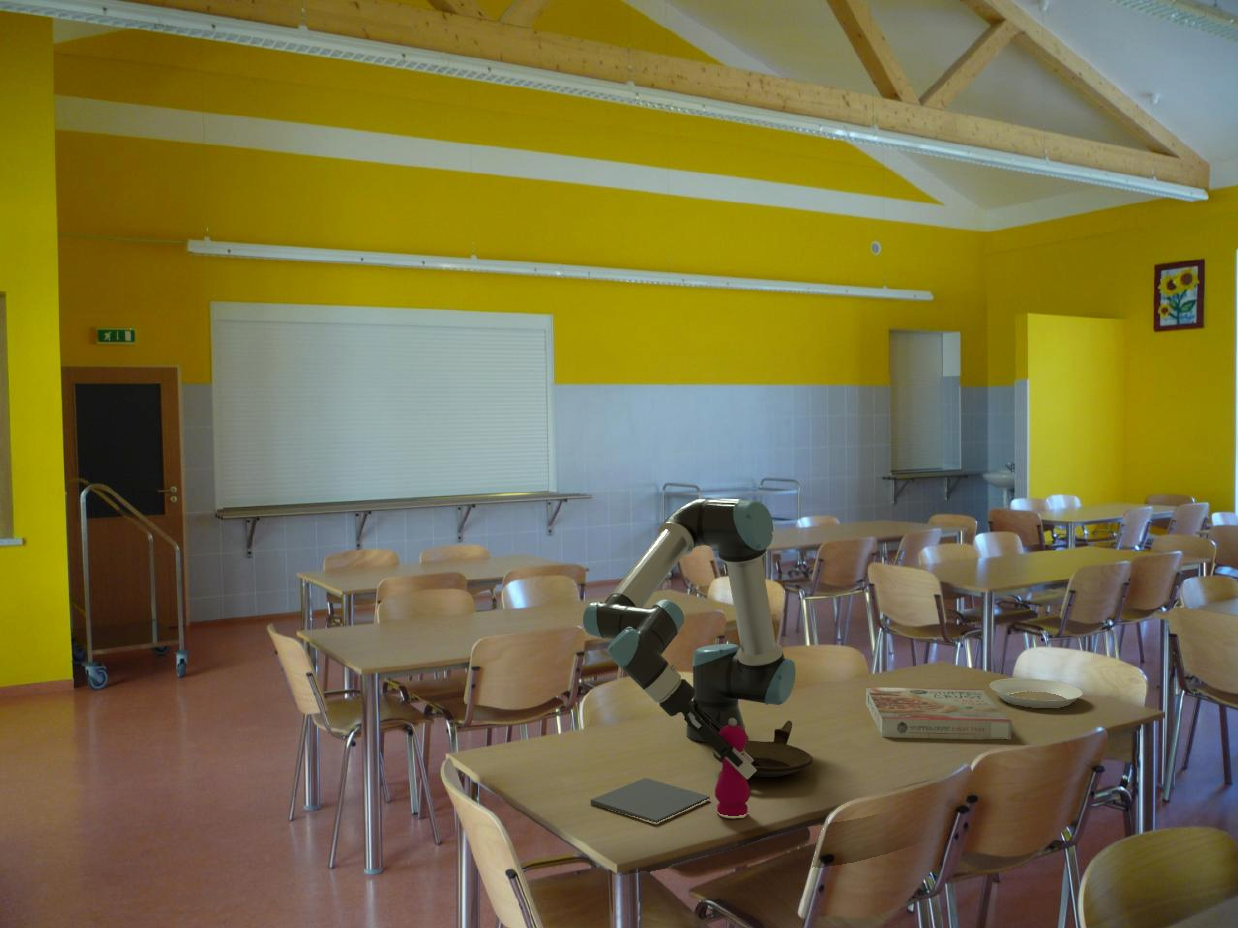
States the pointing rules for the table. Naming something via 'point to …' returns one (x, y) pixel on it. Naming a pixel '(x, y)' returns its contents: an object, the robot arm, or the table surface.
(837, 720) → the table surface
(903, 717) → the pizza box
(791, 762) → the ancient handled dish
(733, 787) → the pepper mill
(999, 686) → the white plate
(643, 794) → the charcoal notebook
